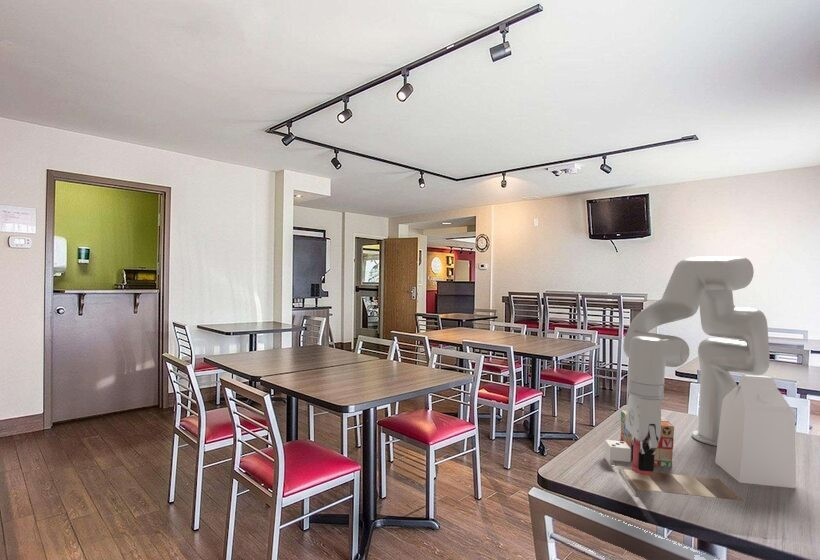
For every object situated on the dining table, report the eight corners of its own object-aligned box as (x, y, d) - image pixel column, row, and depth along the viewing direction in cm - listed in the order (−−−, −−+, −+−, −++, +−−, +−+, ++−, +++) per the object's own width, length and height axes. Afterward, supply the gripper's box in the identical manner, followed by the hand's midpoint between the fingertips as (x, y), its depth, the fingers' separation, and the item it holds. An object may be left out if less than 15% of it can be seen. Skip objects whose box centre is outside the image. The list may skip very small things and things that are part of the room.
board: (719, 483, 108) (719, 477, 108) (748, 508, 96) (749, 502, 96) (619, 473, 111) (619, 467, 111) (635, 496, 99) (635, 490, 99)
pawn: (648, 468, 106) (650, 429, 106) (655, 476, 102) (657, 435, 102) (628, 466, 107) (630, 427, 107) (635, 474, 103) (636, 433, 103)
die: (624, 459, 120) (624, 441, 120) (630, 467, 115) (630, 448, 115) (604, 457, 121) (605, 439, 121) (609, 465, 116) (610, 446, 116)
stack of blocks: (619, 440, 135) (621, 400, 134) (641, 442, 134) (643, 401, 134) (646, 471, 113) (648, 423, 113) (672, 473, 113) (674, 425, 112)
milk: (765, 472, 115) (770, 372, 114) (796, 494, 103) (801, 383, 103) (714, 467, 117) (718, 369, 116) (739, 488, 105) (744, 379, 105)
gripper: (617, 379, 113) (614, 450, 114) (641, 397, 97) (637, 480, 97) (649, 382, 112) (646, 453, 112) (678, 400, 96) (674, 484, 96)
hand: (642, 465), depth 105 cm, fingers closed on pawn, 4 cm apart
